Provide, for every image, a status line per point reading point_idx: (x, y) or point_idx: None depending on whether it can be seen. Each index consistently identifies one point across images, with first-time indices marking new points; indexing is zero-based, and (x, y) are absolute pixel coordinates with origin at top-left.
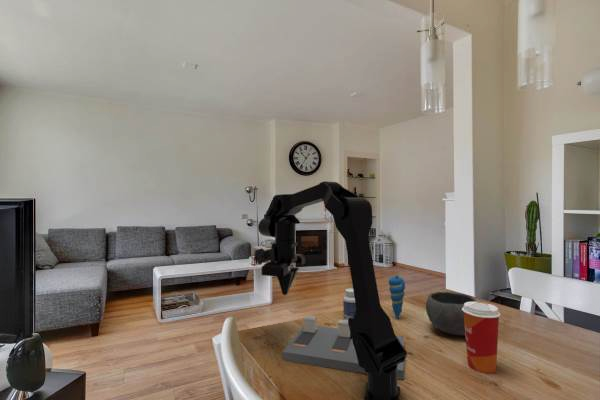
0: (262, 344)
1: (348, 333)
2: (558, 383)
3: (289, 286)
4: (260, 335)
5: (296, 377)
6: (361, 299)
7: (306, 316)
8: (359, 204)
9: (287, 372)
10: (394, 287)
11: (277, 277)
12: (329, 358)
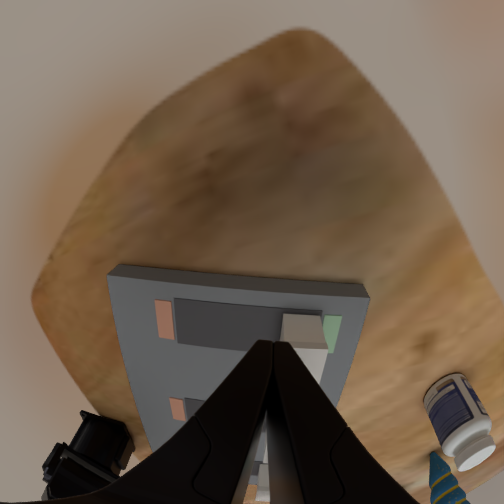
0: (197, 151)
1: (265, 437)
2: None
3: (269, 448)
4: (280, 107)
5: (73, 315)
6: None
7: (317, 354)
8: None
9: (78, 292)
10: None
11: (109, 486)
12: (134, 391)
